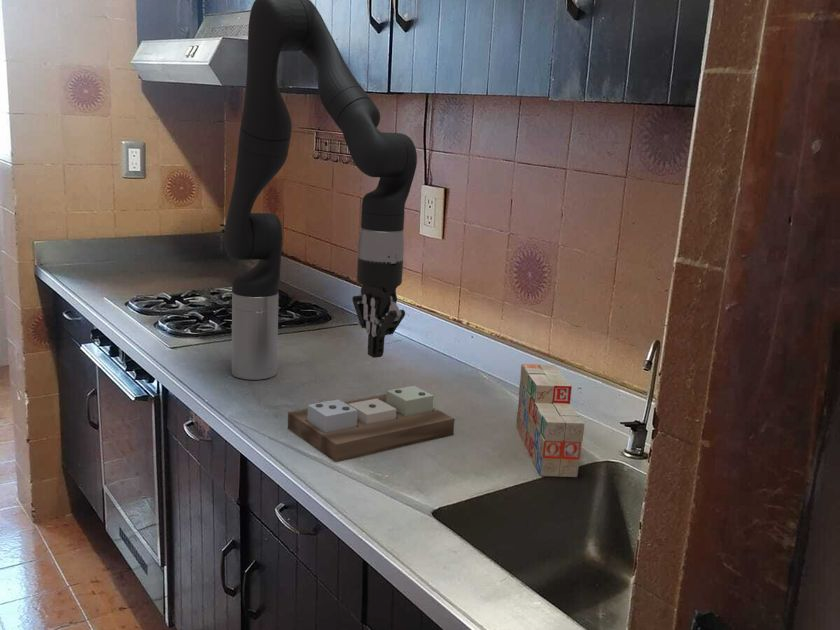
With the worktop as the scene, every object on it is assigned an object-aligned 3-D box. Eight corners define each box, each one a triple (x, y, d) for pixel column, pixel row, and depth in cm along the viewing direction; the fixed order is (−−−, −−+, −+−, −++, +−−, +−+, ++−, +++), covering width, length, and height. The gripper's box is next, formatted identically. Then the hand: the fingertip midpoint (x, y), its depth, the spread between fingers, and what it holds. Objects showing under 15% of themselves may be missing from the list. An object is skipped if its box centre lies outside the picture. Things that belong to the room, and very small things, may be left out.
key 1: (347, 421, 141) (348, 402, 140) (376, 415, 145) (377, 397, 144) (366, 432, 136) (367, 413, 136) (395, 426, 140) (396, 408, 139)
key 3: (307, 422, 136) (307, 403, 135) (338, 416, 140) (338, 398, 139) (325, 434, 131) (326, 415, 131) (356, 428, 135) (357, 409, 134)
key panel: (287, 428, 140) (288, 412, 139) (400, 406, 154) (401, 391, 153) (335, 462, 128) (336, 444, 127) (453, 434, 142) (454, 418, 141)
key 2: (385, 407, 145) (386, 389, 145) (412, 402, 149) (413, 384, 148) (405, 418, 141) (406, 399, 140) (432, 412, 144) (433, 394, 144)
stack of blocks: (578, 478, 128) (587, 405, 125) (539, 477, 127) (547, 403, 124) (548, 427, 148) (555, 363, 145) (515, 426, 148) (521, 362, 145)
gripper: (340, 250, 136) (336, 348, 141) (384, 264, 126) (378, 370, 130) (377, 248, 141) (372, 343, 145) (422, 261, 131) (416, 364, 135)
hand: (375, 356), depth 138 cm, fingers closed
